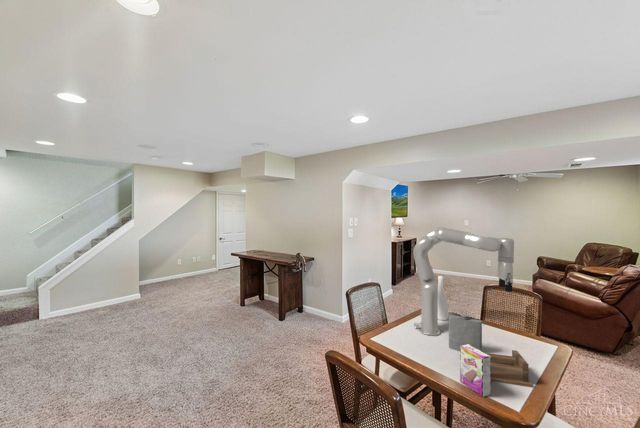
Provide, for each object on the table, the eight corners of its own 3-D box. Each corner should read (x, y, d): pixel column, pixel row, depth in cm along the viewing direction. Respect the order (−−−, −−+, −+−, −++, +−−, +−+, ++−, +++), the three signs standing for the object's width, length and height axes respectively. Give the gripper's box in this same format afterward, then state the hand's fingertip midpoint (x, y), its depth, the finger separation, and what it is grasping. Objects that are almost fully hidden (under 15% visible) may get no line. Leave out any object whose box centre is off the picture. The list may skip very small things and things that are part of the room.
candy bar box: (459, 381, 119) (459, 345, 119) (467, 379, 121) (467, 343, 121) (482, 398, 108) (482, 358, 108) (491, 395, 110) (491, 355, 110)
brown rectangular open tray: (532, 387, 115) (532, 366, 115) (470, 377, 122) (470, 358, 122) (518, 367, 129) (518, 349, 129) (463, 360, 136) (463, 342, 136)
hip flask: (481, 353, 143) (481, 315, 143) (482, 356, 140) (481, 318, 139) (449, 345, 151) (448, 310, 151) (448, 349, 148) (448, 312, 147)
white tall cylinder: (449, 321, 184) (449, 278, 184) (434, 320, 187) (434, 277, 187) (447, 316, 193) (446, 275, 193) (432, 315, 196) (432, 274, 196)
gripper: (493, 256, 163) (492, 284, 164) (504, 262, 147) (503, 293, 147) (507, 257, 161) (506, 285, 162) (520, 262, 145) (519, 294, 145)
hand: (505, 289), depth 154 cm, fingers open, 9 cm apart
